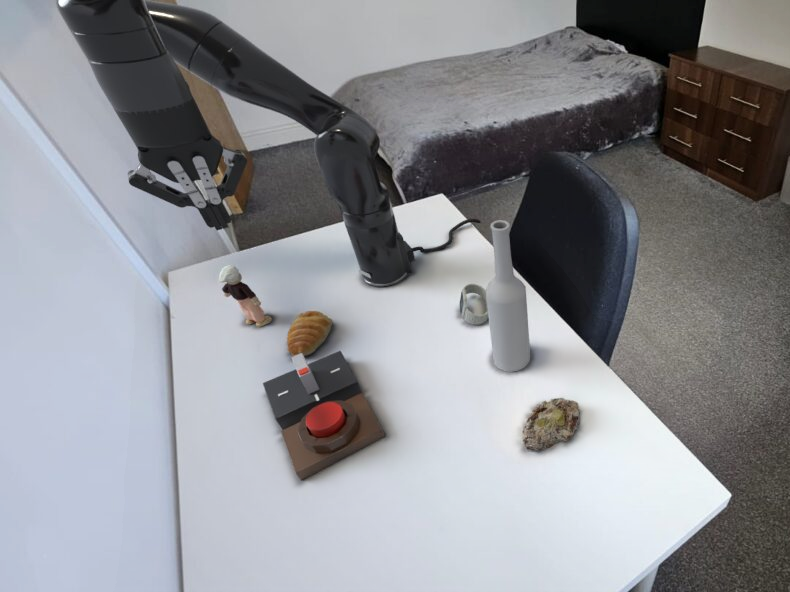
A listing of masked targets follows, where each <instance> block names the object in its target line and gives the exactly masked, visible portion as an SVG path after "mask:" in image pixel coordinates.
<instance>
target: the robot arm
mask: <svg viewBox="0 0 790 592" xmlns="http://www.w3.org/2000/svg"><path fill="white" fill-rule="evenodd" d="M55 5H56V8H57V11H58V12H59V14H60V17H61V18H62V20H63V21H64V23H65V25H66V26H67V28H68V30H69V31H70V33H71V35H72V37H73V38H74V40H75V42H76V43H77V45H78V47H79V49H80V50H81V52H82V53H83V55H84V57H85V58H86V59H87V62H88V64H89V66H90V68H91V70H92V72H93V76H94V77H95V79H96V81H97V84H98V85H99V87H100V89H101V90H102V92H103V93H104V95H105V97H106V99H107V100H108V102H109V104H110V105H111V107H112V110H114V112H115V114H116V115H117V117H118V119H119V121H121V123H122V125H123V127H124V129H125V130H126V132H127V133H128V135H129V137H130V139H131V140H132V142H133V143H134V145H135V147H136V149H137V159H138V162H139V164H138V165H137V166H136V167H135V169H130V170H128V172H127V178H128V179H127V180H128V184H129V185H130V186H132V187H134V188H136V189H138V190H140V191H143V192H144V193H147V194H149V195H151V196H154V197H156V198H158V199H160V200H162V201H165V202H167V203H170V204H172V205H174V206H176V207H178V208H182V209H183V208H186V207H193V208H196V209H197V210H198V212H199V214H200V216H201V217H202V220H203V221H204V223H205V225H206V226H207V227H208V228H210V229H212V228H214V229H215V231H220V230H224V229H228V228H229V225H228V224H231V223H232V218H231V216H230V214H229V212H228V210H227V208H226V206H225V203H224V199H227V198H228V197H233V196H234V195H235V193H236V190H237V189H238V186H239V183H240V181H241V178H242V176H243V173H244V171H245V168H246V166H247V164H248V159H247V157H246V155H245V153H244V152H243V150H240V149H234V150H233V149H231V148H228V147H225V146H223V145H222V143H221V142H220V140H218V139H217V138H216V137H215V136H214V135H213V134H212V133H211V130H210V128H209V126H208V124H207V122H206V120H205V117H204V116H203V114H202V112H201V110H200V108H199V106H198V104H197V102H196V99H195V98H194V95H193V94H192V91H191V88H190V85H189V84H188V82H187V81H186V79H185V76H184V75H183V73H182V71H181V70H180V68H179V66H180V67H181V68H183V69H185V70H186V71H188V72H190V73H191V74H192V75H194V76H195V77H197V78H199V79H200V80H202V81H204V82H205V83H207V84H208V85H210V86H211V87H213V88H214V89H216V90H218V91H220V92H222V93H223V94H225V95H226V96H228V97H230V98H231V97H232V98H234V99H237V100H239V101H242V102H244V103H247V104H250V105H254V106H256V107H260V108H263V109H266V110H269V111H272V112H275V113H278V114H281V115H283V116H285V117H288V118H289V119H291V120H293V121H295V122H296V123H298V124H299V125H301V126H303V127H304V128H306V129H307V130H309V131H310V132H312V133H313V134H314V135H315V139H314V142H313V149H314V154H315V158H316V161H317V164H318V167H319V170H320V172H321V175H322V177H323V180H324V182H325V185H326V187H327V189H328V192H329V194H330V195H331V197H332V198H333V199H334V201H336V203H337V205H338V209H339V212H340V214H341V217H342V220H343V222H344V226H345V229H346V232H347V235H348V237H349V241H350V243H351V246H352V249H353V252H354V255H355V257H356V261H357V264H358V266H359V268H358V272H359V274H361V277H362V280H363V282H364V283H366V285H369V286H372V287H381V288H383V287H388V286H392V285H396V284H397V283H398V284H399V283H400V282H401V281H403V280H405V278H406V277H407V276H408V275H410V274H412V273H413V272H412V268H411V267H412V266H411V264H410V263H412V262H414V261H416V256H415V253H414V252H417V251H419V252H420V253H423V254H424V253H425V254H426V253H434V252H438V251H441V250H443V249H446V248H447V247H449V246H450V245H451V244H452V243H453V240H454V239H453V234H454V232H455V231H456V230H458V229H459V228H461V227H463V226H464V225H466V224H469V223H477V224H481V223H482V221H481V220H480V219H478V218H468V219H465V220H462V221H460V222H459V223H457V224H455V226H453V227H451V229H450V230H449V232H448V240H447V241H446V242H445V243H442V244H441V245H439V246H435V247H431V248H424V247H423V246H414V247H411V246H410V244H408V242H407V241H406V240H404V237H403V235H402V233H400V231H399V229H398V225H397V224H398V223H397V221H396V216H395V213H394V208H393V205H392V201H391V197H390V193H389V190H388V187H387V186H386V185H385V184H384V183H383V182H381V181H380V178H379V174H378V170H377V167H376V164H375V158H376V157H377V154H378V152H379V150H380V146H381V139H380V136H379V133H378V130H377V129H376V128H375V126H374V125H373V124H372V123H371V122H370V121H369V120H368V118H365V117H364V116H363V115H362V114H360V113H359V112H357V111H355V110H353V109H352V108H350V107H348V106H347V105H345V104H343V103H342V102H340V101H338V100H336V98H333V97H331V96H329V95H328V94H326V93H324V92H323V91H322V90H320V89H318V88H316V87H315V86H314V85H312V84H310V83H309V82H307V81H306V80H305V79H303V78H302V77H300V76H298V75H297V74H296V73H295V72H293V71H292V70H290V69H289V68H288V67H286V66H285V65H284V64H282V63H281V62H279V61H278V60H276V59H275V58H274V57H273V56H271V55H270V54H268V53H267V52H265V51H263V50H262V49H261V48H259V47H258V46H256V44H254V43H253V42H252V41H250V40H249V39H248V38H247V37H245V36H243V34H241V33H239V32H238V31H236V30H235V29H233V28H232V27H231V26H230V25H228V24H226V22H224V21H222V20H221V19H219V18H217V17H216V15H213V14H211V13H209V12H207V11H205V10H201V9H198V8H194V7H189V6H186V5H181V4H174V3H169V2H163V1H157V0H55ZM178 65H179V66H178ZM222 157H223V162H224V164H225V165H226V168H225V171H224V174H223V176H222V178H221V181H220V184H218V185H217V186H216V184H215V181H214V178H213V176H215V175H216V173H217V171H218V169H219V165H220V162H221V159H222ZM155 173H156V174H155ZM156 175H159V176H161V177H163V178H165V179H166V180H169V181H171V182H173V183H176V184H179V185H180V186H181V188H182V189H183V190H184V192H182V191H180V190H179V189H177V188H174V187H172V186H170V185H168V184H166V183H164V182H161V181H160V180H157V178H156ZM196 181H201V183H202V186H203V188H204V190H205V192H206V195H207V198H208V199H206V198H205V196H204V194H203V193H202V191H201V189H200V188H199V187H198V185H197V183H196Z"/></svg>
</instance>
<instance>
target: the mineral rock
mask: <svg viewBox="0 0 790 592" xmlns="http://www.w3.org/2000/svg"><path fill="white" fill-rule="evenodd" d="M579 408H580V407H579V403H578V401H575V400H573V399H572V400H571V399H565V398H564V397H559V398H551V399H550V400H549V401H548V402H547V400H543V401H542V402H541V404H540V403H538V404H536V405H535V407H534V408H533V409H532V411H531V413H530V415H529V417H527V419H526V423H525V426H523V428H522V435H523V436H522V443H524V445H525V446H526V447H525V449H526V450H527V451H528V450H536V451H543V450H546V449H548V448H551V447H553V446H554V445H555V444H556V443H557V442H560V441H563V442H567V441H569V440H570V439H571V438H572V437H573V435H575V431H576V430H578V426H579V424H580V420H579V414H580V409H579Z"/></svg>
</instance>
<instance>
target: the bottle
mask: <svg viewBox="0 0 790 592" xmlns="http://www.w3.org/2000/svg"><path fill="white" fill-rule="evenodd" d="M510 228H511V224H510V223H509V222H508V220H503V219H499V220H495V221H493V222H491V223H490V229H491V234H492V245H493V254H494V278H493V279H491V281H489V283H488V284H487V286H486V288H485V290H486V300H487V308H488V324H489V325H488V326H489V333H490V341H491V350H492V357H493V363H494V365H495V367H496V368H497V369H499V370H501V371H503V372H508V373H511V372H512V373H513V372H518V371H521V370H523V369H524V368H526V367H527V366H528V365H529V363H530V361H531V347H530V346H531V344H530V343H531V342H530V330H529V329H530V328H529V317H528V316H529V315H528V303H527V299H528V298H527V288H526V285H525V284H524V282H523V281H522V280H521V279H520V278H518V277H517V276H516V275H515V273H514V266H513V261H512V251H511V242H510V231H509V229H510Z"/></svg>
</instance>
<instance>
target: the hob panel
mask: <svg viewBox="0 0 790 592" xmlns="http://www.w3.org/2000/svg"><path fill="white" fill-rule="evenodd" d="M308 365H309V367H310V369H311V371H312V373H313V376H314V378H315V380H316V382H317V385H318V387H319V390H317V391H315V392H313V393H311V394H308V392H307V390H306V388H305V386H304V385H303V383H302V381H301V379H300V377H299V375H298V373H297V370H296V368H295V369H293V370H290V371H288V372H286V373H283V374H281V375H279V376H276V377H273V378H272V379H269V380H267V381H264V382H263V383H262V386H263V388H264V391H265V394H266V397H267V399H268V403H269V405H270V409H271V411H272V414H273V417H274V420H275V421H276V423H277V424H278V426H279V427H280V429H281V431H282V430H284V429H286V428H288V427H290V426H293V425H295V424H297V423H299V422H301V419H302V418H303V417H304V416H305V415H306V414H307V413H308V412H309V411H310V410H311V409H312V408H314V407H316V406H318V405H320V404H323V403H325V402H327V401H338V400H342V401H346V400H348V399H350V398H352V397H354V396H356V395H358V394H360V393H363V391H362V389H361V386H360V384H359V382H358V380H357V379H356V376H355V374H354V373H353V371H352V369H351V367H350V365H349V363H348V361H347V360H346V358H345V355H344V354H343V352H342V351H341V350H338V351H336V352H334V353H332V354H329V355H326V356H324V357H322V358H319V359H317V360H314V361H312V362H310V363H308Z"/></svg>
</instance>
